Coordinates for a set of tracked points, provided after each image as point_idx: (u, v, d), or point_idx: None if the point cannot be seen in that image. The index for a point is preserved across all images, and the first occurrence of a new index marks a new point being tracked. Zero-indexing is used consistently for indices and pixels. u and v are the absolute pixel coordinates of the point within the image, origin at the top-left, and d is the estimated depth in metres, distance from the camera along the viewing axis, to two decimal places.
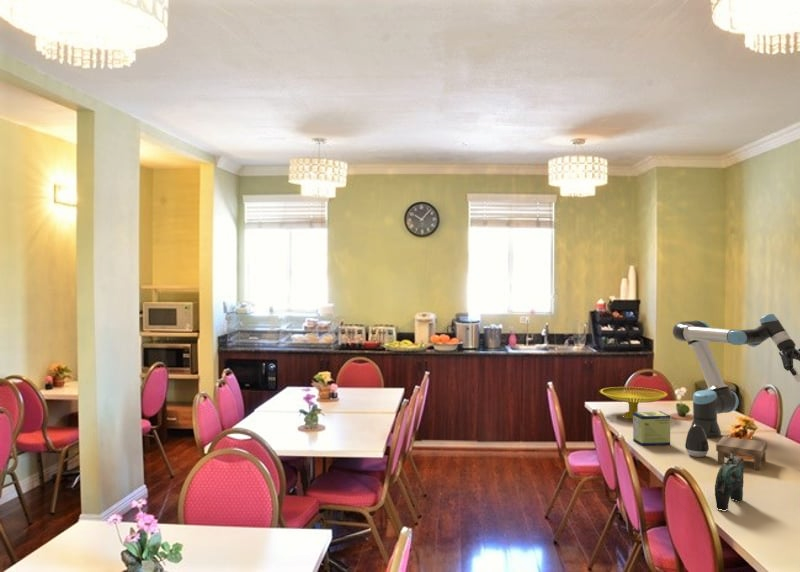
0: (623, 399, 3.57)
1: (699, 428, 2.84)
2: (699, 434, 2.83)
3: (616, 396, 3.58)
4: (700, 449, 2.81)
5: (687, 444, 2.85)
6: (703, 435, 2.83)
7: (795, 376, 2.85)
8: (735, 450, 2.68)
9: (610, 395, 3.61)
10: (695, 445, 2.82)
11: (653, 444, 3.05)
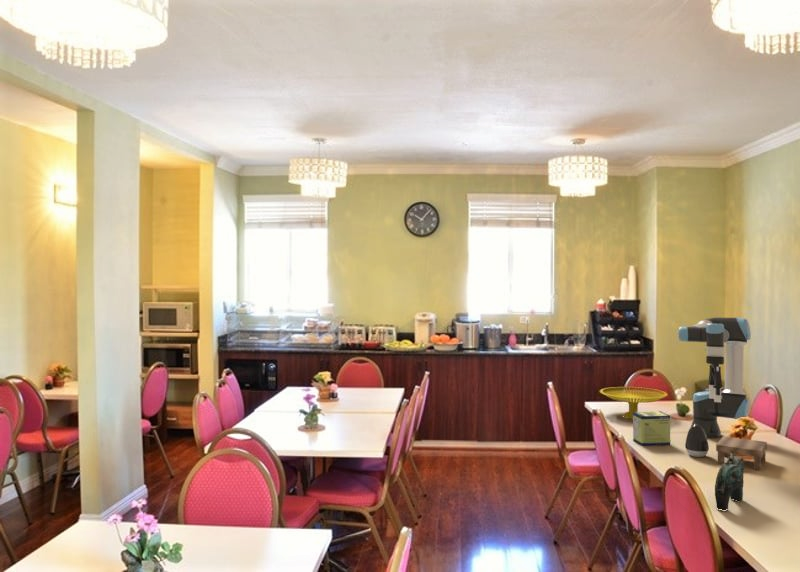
0: (623, 399, 3.57)
1: (699, 428, 2.84)
2: (699, 434, 2.83)
3: (616, 396, 3.58)
4: (700, 449, 2.81)
5: (687, 444, 2.85)
6: (703, 435, 2.83)
7: None
8: (735, 450, 2.68)
9: (610, 395, 3.61)
10: (695, 445, 2.82)
11: (653, 444, 3.05)
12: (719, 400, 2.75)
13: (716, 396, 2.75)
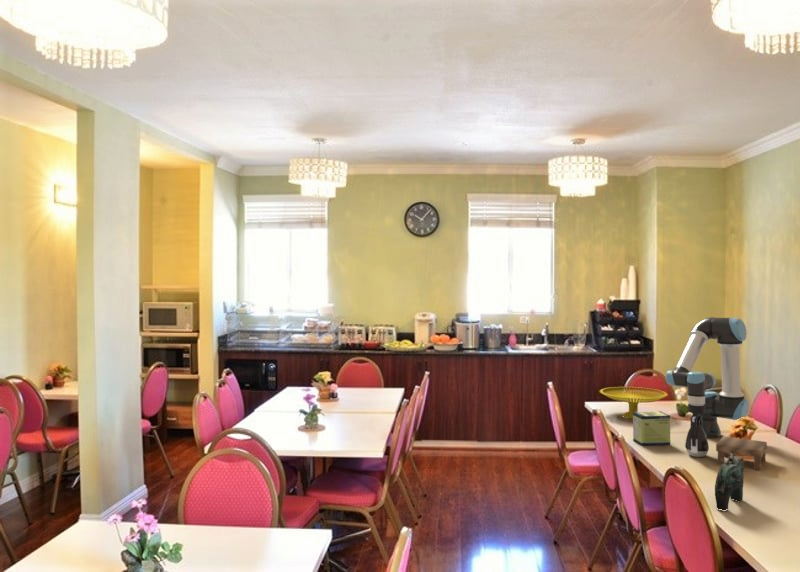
0: (623, 399, 3.57)
1: (699, 428, 2.84)
2: (699, 434, 2.83)
3: (616, 396, 3.58)
4: (700, 449, 2.81)
5: (687, 444, 2.86)
6: (703, 435, 2.83)
7: None
8: (735, 450, 2.68)
9: (610, 395, 3.61)
10: None
11: (653, 444, 3.05)
12: (695, 451, 2.81)
13: (692, 447, 2.82)
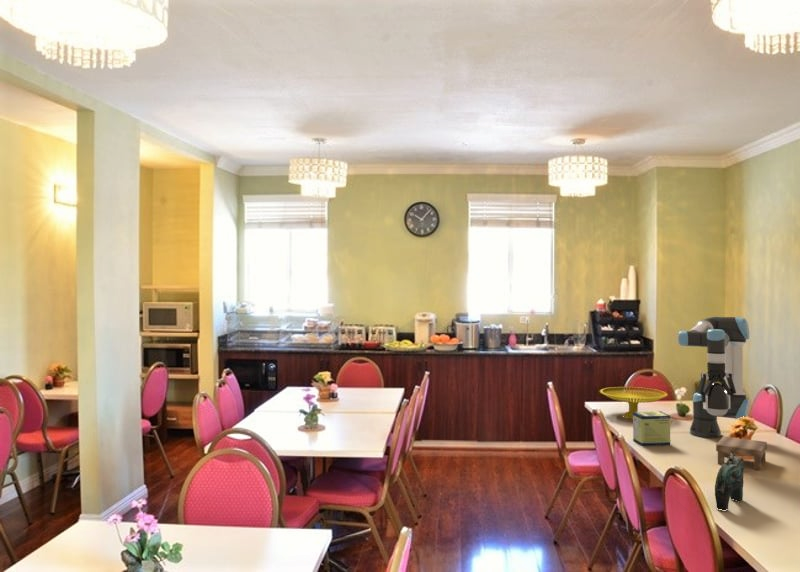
0: (623, 399, 3.57)
1: (714, 386, 2.79)
2: (712, 391, 2.78)
3: (616, 396, 3.58)
4: (710, 406, 2.78)
5: None
6: (716, 393, 2.77)
7: None
8: (735, 450, 2.68)
9: (610, 395, 3.61)
10: None
11: (653, 444, 3.05)
12: (705, 407, 2.80)
13: (704, 403, 2.81)
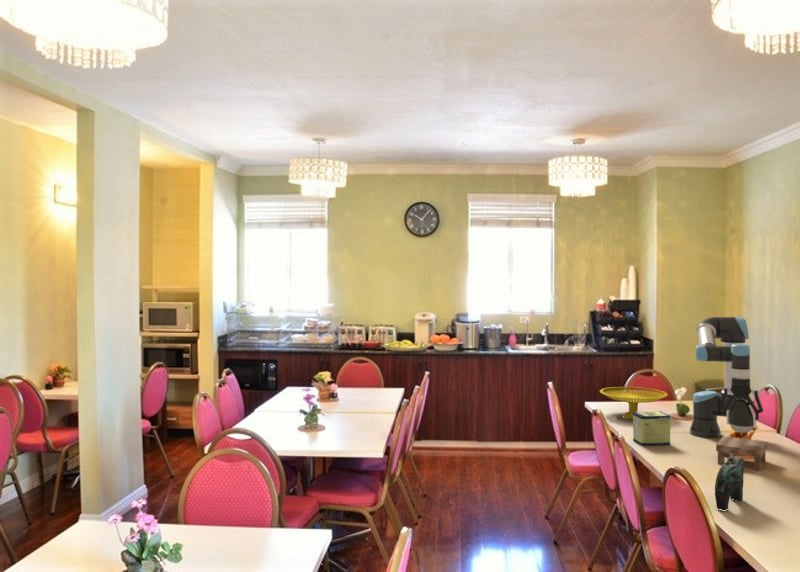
0: (623, 399, 3.57)
1: (736, 401, 2.74)
2: (732, 406, 2.75)
3: (616, 396, 3.58)
4: (729, 421, 2.75)
5: None
6: (735, 409, 2.73)
7: (755, 421, 2.70)
8: (735, 450, 2.68)
9: (610, 395, 3.61)
10: (729, 417, 2.77)
11: (653, 444, 3.05)
12: None
13: None
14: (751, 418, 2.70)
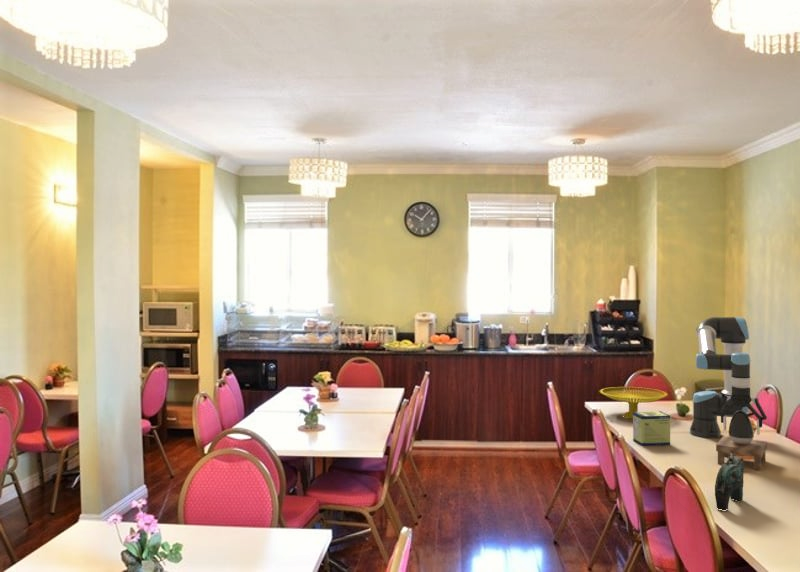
0: (623, 399, 3.57)
1: (735, 413, 2.74)
2: (732, 418, 2.75)
3: (616, 396, 3.58)
4: (729, 433, 2.75)
5: None
6: (735, 420, 2.73)
7: (759, 428, 2.70)
8: (735, 450, 2.68)
9: (610, 395, 3.61)
10: None
11: (653, 444, 3.05)
12: None
13: None
14: (751, 430, 2.70)
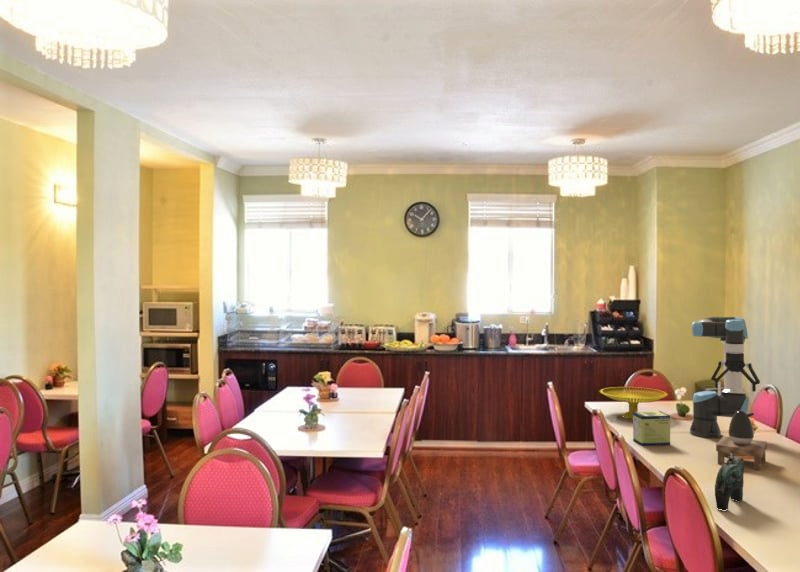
0: (623, 399, 3.57)
1: (736, 413, 2.74)
2: (732, 418, 2.75)
3: (616, 396, 3.58)
4: (729, 433, 2.75)
5: None
6: (735, 421, 2.73)
7: (752, 392, 2.76)
8: (735, 450, 2.68)
9: (610, 395, 3.61)
10: (729, 428, 2.77)
11: (653, 444, 3.05)
12: (718, 393, 2.85)
13: None
14: (751, 430, 2.70)
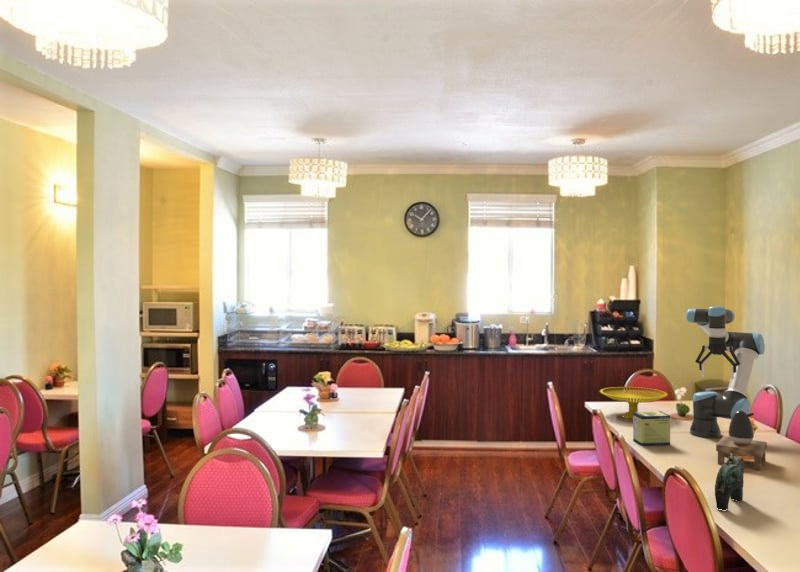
0: (623, 399, 3.57)
1: (736, 413, 2.74)
2: (732, 418, 2.75)
3: (616, 396, 3.58)
4: (729, 433, 2.75)
5: None
6: (735, 421, 2.73)
7: (733, 373, 2.98)
8: (735, 450, 2.68)
9: (610, 395, 3.61)
10: (729, 428, 2.77)
11: (653, 444, 3.05)
12: None
13: None
14: (751, 430, 2.70)
